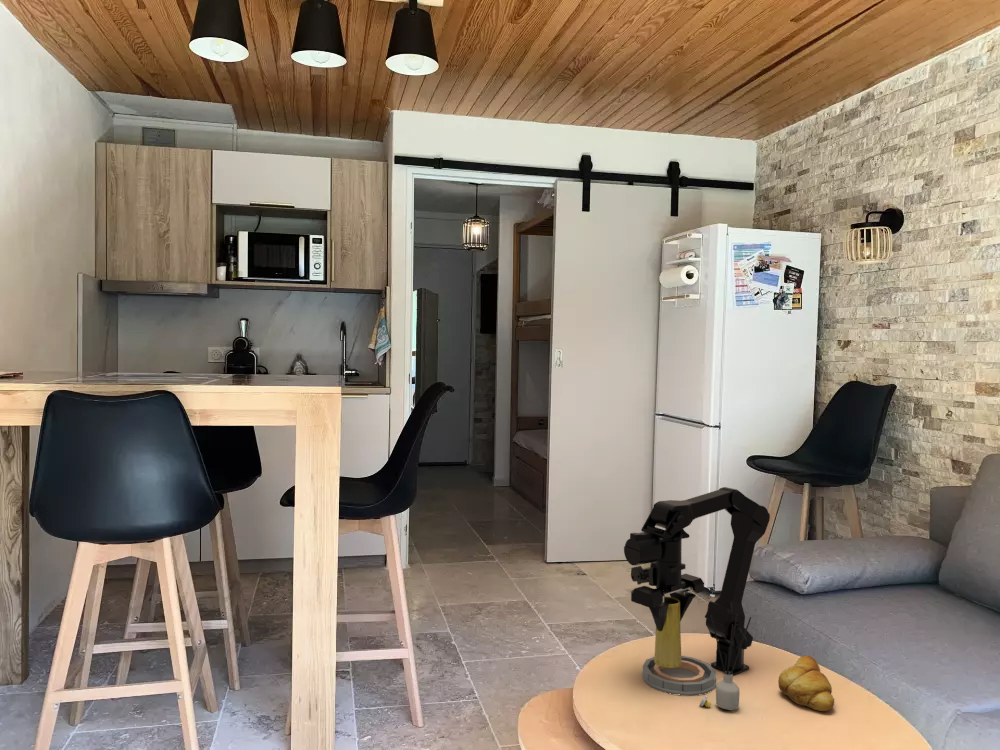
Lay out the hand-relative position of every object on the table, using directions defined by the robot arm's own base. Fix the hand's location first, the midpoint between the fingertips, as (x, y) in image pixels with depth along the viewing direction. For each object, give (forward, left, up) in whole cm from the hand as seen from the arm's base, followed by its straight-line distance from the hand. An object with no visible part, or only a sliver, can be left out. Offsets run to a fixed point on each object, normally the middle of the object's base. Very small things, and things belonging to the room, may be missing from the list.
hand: (668, 627), depth 166 cm
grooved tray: (-4, 0, -13) cm, 13 cm away
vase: (0, 0, -8) cm, 8 cm away
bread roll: (-18, +23, -13) cm, 32 cm away
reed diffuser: (0, +16, -13) cm, 20 cm away
